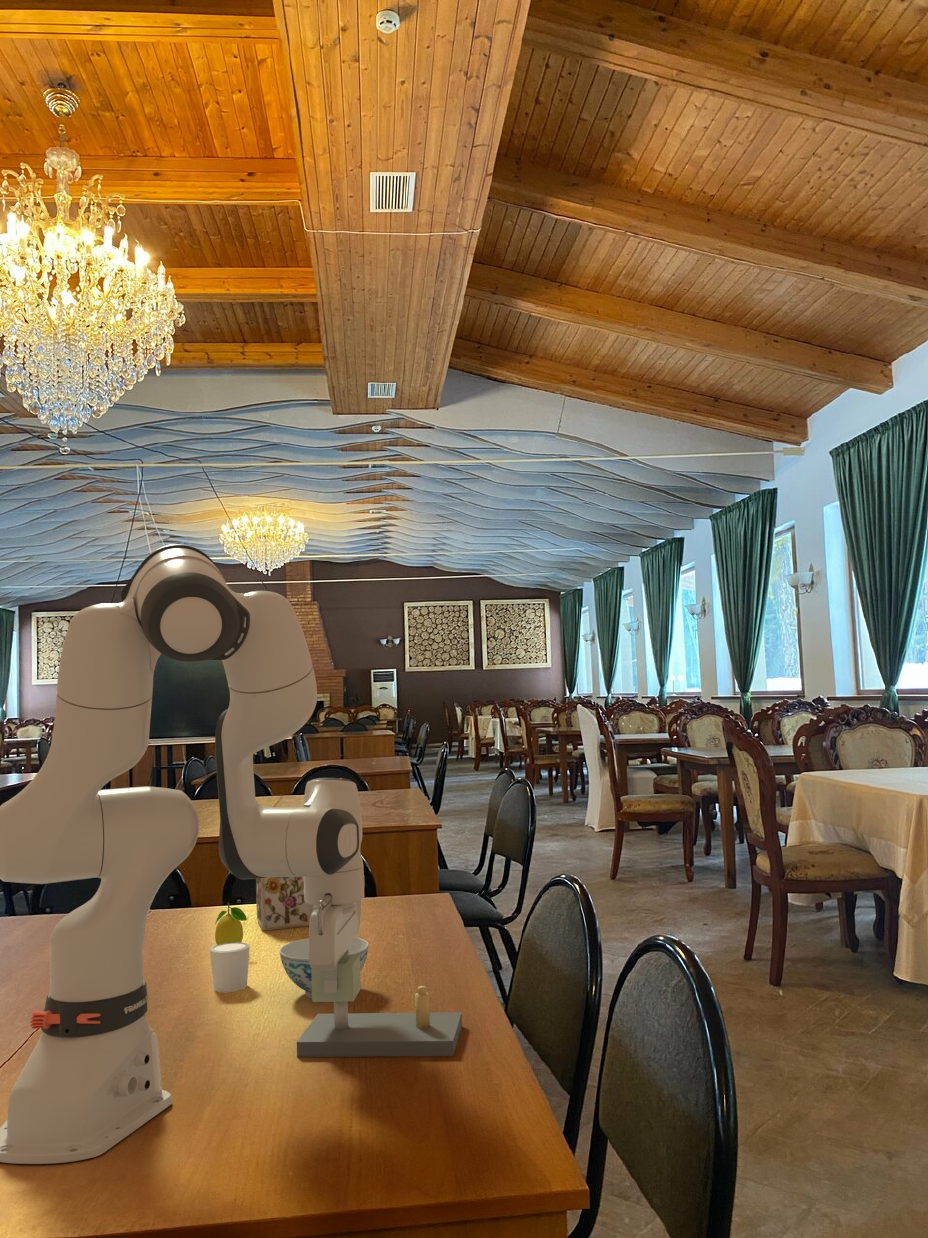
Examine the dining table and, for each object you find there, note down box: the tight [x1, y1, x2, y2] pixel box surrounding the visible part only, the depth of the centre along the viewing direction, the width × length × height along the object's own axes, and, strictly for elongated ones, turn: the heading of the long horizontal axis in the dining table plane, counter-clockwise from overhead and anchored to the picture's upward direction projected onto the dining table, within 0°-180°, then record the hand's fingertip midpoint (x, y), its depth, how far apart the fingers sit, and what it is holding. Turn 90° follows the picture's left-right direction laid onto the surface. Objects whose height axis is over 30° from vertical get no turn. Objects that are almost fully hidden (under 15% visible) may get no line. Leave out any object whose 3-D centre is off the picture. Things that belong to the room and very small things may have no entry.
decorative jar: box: [255, 877, 313, 932], centre depth 217 cm, size 12×12×18 cm
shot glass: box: [209, 942, 251, 993], centre depth 169 cm, size 7×7×7 cm
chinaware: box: [279, 937, 369, 999], centre depth 163 cm, size 15×15×8 cm
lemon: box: [214, 902, 248, 945], centre depth 192 cm, size 7×6×10 cm
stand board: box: [296, 985, 463, 1058], centre depth 139 cm, size 12×22×8 cm, turn 85°
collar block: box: [311, 954, 362, 1003], centre depth 141 cm, size 6×6×5 cm
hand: (336, 984), depth 140 cm, fingers closed on collar block, 6 cm apart
